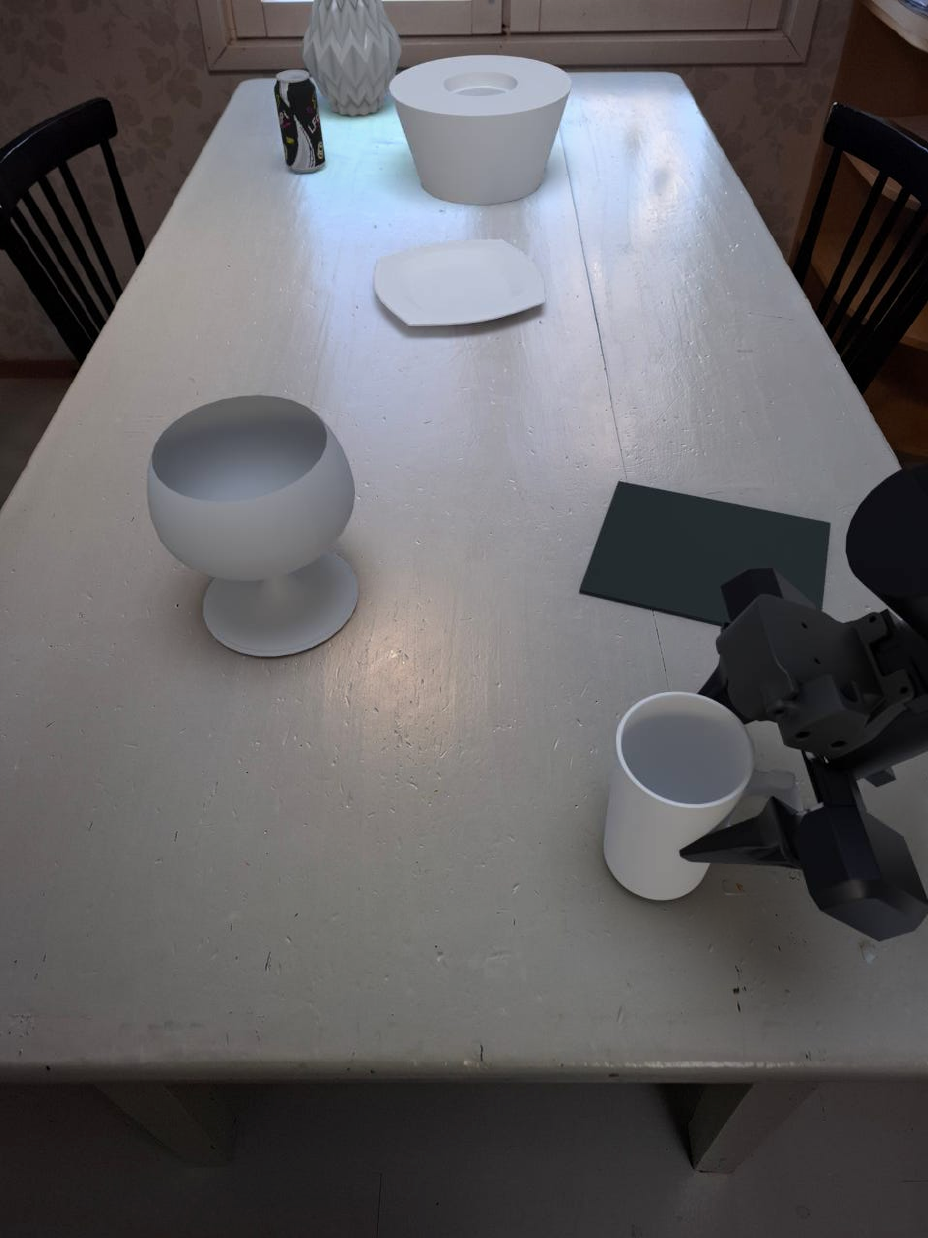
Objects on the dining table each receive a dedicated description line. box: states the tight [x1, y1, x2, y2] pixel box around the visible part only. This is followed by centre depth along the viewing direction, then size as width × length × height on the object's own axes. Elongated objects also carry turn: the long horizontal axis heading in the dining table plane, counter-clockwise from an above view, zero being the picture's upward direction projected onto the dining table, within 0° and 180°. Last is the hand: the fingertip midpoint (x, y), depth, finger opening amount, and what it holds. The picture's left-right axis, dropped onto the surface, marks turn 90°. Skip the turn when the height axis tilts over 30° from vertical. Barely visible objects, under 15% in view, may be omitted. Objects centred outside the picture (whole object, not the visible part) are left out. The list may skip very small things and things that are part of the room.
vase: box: [299, 0, 403, 117], centre depth 134 cm, size 16×16×18 cm
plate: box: [373, 238, 547, 327], centre depth 98 cm, size 19×19×2 cm
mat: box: [578, 480, 832, 627], centre depth 69 cm, size 18×14×1 cm
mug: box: [603, 691, 804, 901], centre depth 47 cm, size 10×7×12 cm, turn 75°
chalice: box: [146, 394, 360, 657], centre depth 62 cm, size 14×14×15 cm
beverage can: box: [273, 69, 326, 174], centre depth 121 cm, size 6×6×12 cm
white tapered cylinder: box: [389, 54, 573, 206], centre depth 116 cm, size 24×24×12 cm
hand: (672, 797), depth 47 cm, fingers closed on mug, 6 cm apart
